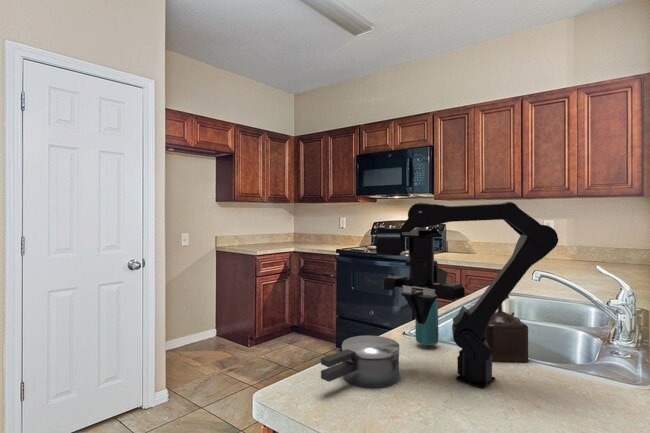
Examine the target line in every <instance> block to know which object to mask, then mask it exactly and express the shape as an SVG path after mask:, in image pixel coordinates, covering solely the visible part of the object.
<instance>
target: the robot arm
mask: <svg viewBox="0 0 650 433" xmlns="http://www.w3.org/2000/svg"><path fill="white" fill-rule="evenodd" d="M501 220H502V221H504V222H505V223H506V224H507V225H508V226H509V227H510V228H511V229H513V230H514V231H515V232H516V233H517V234H518V235H520V236H519V238H518V240H517V241H516V243H515V247H514V249H513V253H512V255H511V256H510V258H509V259H508V261H507V262H505V265H504V266H503V267H502V268H501V269H500V271H499V273H497V275H496V276H495V278H493V280H492V282H490V284H489V285H488V287H487V288H486V289H485V291H484V292H483V293H482V295H481V296H480V297H479V298H478V300H477V301H476V302H475V303H474V304H473V306H471V307H469V308H468V309H467V308H466V307H465V306H464V305H462V306H461V308H460V310H459V312H458V314H456V315H455V316H453V317H452V325H451V330H452V336H453V341H454V343H455V344H456V346H458V348H460V350H458V356H457V357H456V358H457V359H456V360H457V361H456V362H457V363H456V365H457V366H456V367H457V375H456V377H455V380H456V381H457V382H458V381H459V382H462V383H464V384H468V385H471V386H474V387H477V388H480V389H485V388H486V387H488V386H489V385H491V384H492V383H493V382H495V381H496V377H494V376H493V362H492V354H491V353H492V351H491V349H490V346H489V344H488V342H487V339H486V338H485V337H484V334H485V332H486V329H487V327H488V324H489V321H490V319H491V317H492V316H493V314H494V313H495V312H497V311H498V308H499V306H500V305H501V304H502V305H503V303H504V300H505V299H506V297H507V296H509V295H510V293H512V291H513V290H514V289H515V287H516V286H517V285H518V283H519V282H520V281H521V279H522V278H523V277H524V275H526V273H527V271H528V270H529V269H530V268H531V267H532V266H533V265H535V264H536V263H538V262H539V261H541V260H542V259H544V258H545V257H546V256H547V255H549V254H550V252H552V251H553V250H554V249H555V248H556V247H557V245H558V244H559V236H558V233H557V231H556V230H555V229H554V228H553V227H551V226H549V225H547V224H541V223H539V222H538V221H537V220H536V219H535V218H533V217H532V216H530V215H529V214H527V213H526V212H525V211H523V210H522V209H521V208H519V206H518V205H517V204H516V203H514V202H512V201H505V202H502V203H486V204H485V203H483V204H482V203H481V204H467V205H465V204H464V205H444V204H436V203H426V202H417V203H414V204H413V205H411V207H410V208H409V209H408V211H407V219H406V220H405V221H404V223H403V224H401V227H399V228H398V227H395V228H394V227H393V228H392V227H390V228H389V227H384V226H383V227H378V228H377V234H376V235H377V236H376V241H375V252H376V256H377V257H401V256H402V254H403V253H407V252H406V251H407V238H408V260H405V263H404V264H405V267H408V276H404V275H396V274H395V275H390V276H385V277H384V279H383V281H382V289H383V290H387V291H394V290H395V289H396V288H402V291H403V292H401V294H400V295H401V296H402V297H404V299H405V300H406V302H407V304H408V306H409V307H410V309H411V311H412V313H413V316H414V319H415V318H416V320H417V322H418V323H419V324H425V323H426V320H427V317H428V314H429V312H430V309H431V306H432V304H433V302H434V301H435V300H436V299H441V300H447V301H454V300H457V299H461V298H464V297H465V292H466V291H465V290H466V289H465V287H464V285H463V284H462V283H457V282H449V281H447V279H448V273H449V272H448V271H446V270H444V269H443V268H440V267H438V265H439V263H438V261H437V260H435V238H438V239H439V238H440V239H441V238H442V237H443V234H442V233H441V232H440V231H439V230H438V229H437V227H436V226H437V225H442V224H446V223H451V222H474V221H475V222H476V221H477V222H478V221H501ZM432 226H433V228H432V229H424V228H427V227H428V228H429V227H432ZM416 228H419V229H418V231H417V232H418V234H417V233H416V234H415V233H414V234H412V233H411V234H407V233H410V232H412V231H413V230H415V229H416ZM422 228H423V229H422ZM405 233H406V234H405ZM427 287H428V288H427ZM506 300H507V299H506ZM506 300H505V301H506Z"/></svg>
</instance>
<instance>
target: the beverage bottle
mask: <svg viewBox="0 0 650 433" xmlns="http://www.w3.org/2000/svg"><path fill="white" fill-rule="evenodd" d="M427 288H428V287H427ZM438 299H439V298H437V299H436V300H435V301H434V302H433V304H432V306H431V309H430V312H429V314H428V317H427V320H426V323H425V324H419V323H418V322H417V320H416V318H415V317H414V323H415V330H414V332H415V334H414V336H415V338H414V340H416V343H418V344H421V345H426V346H427V345H429V346H430V345H436V344H438V343H439V339H440V338H439V337H440V335H439V322H440V321H439V306H438V301H439V300H438Z"/></svg>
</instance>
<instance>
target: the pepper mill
mask: <svg viewBox="0 0 650 433" xmlns="http://www.w3.org/2000/svg"><path fill="white" fill-rule="evenodd" d="M507 299H510V296H509V295H508V296H507V297H506V299H505V300H504V301H506V300H507ZM504 301H503V302H504ZM514 315H515V312H512V313H511V314H510V313H507V312H505V311H504V310H503V303H502V304H501V305H500V306H499V308H498V309H497V311H496V312H495V313H494V314H493V316H492V317H491V319H490V321H489V324H488V327H487V329H486V332H485V334H484V337H485V338H486V339H487V342H488V344H489V346H490V349H491V351H492V353H491V354H492V363H514V364H515V363H522V364H526V363H529V362H530V360H529V326H528V325H527V324H526V323H524V322H523V321H521V319H520V318H519V317H517V316H514Z"/></svg>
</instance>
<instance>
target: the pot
mask: <svg viewBox="0 0 650 433" xmlns="http://www.w3.org/2000/svg"><path fill="white" fill-rule="evenodd" d="M341 377H342V378H343V380H344V381H345V382H346V383H348V384H349V385H352V386H354V387H357V388H363V389H384V388H388V387H392V386H394V385H396V384H397V383H399V380H400V352H399V353H398V354H397V355H395V356H393V357H389V358H384V359H363V358H357V357H355V358H352V359H350V360H347V361H344V362H342V363H339V364H336V365H334V366H331V367H327V368H325V369H322V370H320V379H322V380H324V381H326V382H328V383H329V382H332V381H335V380H337V379H339V378H341Z"/></svg>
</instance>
